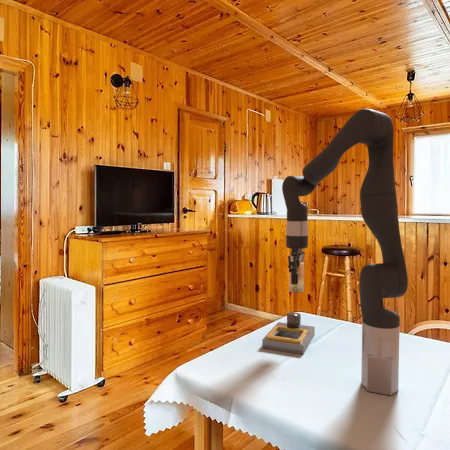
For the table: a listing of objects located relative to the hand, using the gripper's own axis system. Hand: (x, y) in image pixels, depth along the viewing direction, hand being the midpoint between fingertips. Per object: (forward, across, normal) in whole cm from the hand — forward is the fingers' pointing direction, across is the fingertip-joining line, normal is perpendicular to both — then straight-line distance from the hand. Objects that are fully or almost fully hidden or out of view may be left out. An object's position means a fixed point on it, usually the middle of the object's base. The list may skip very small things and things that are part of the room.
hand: (296, 282), depth 127 cm
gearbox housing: (+22, +1, +3) cm, 22 cm away
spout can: (+3, 0, 0) cm, 3 cm away
